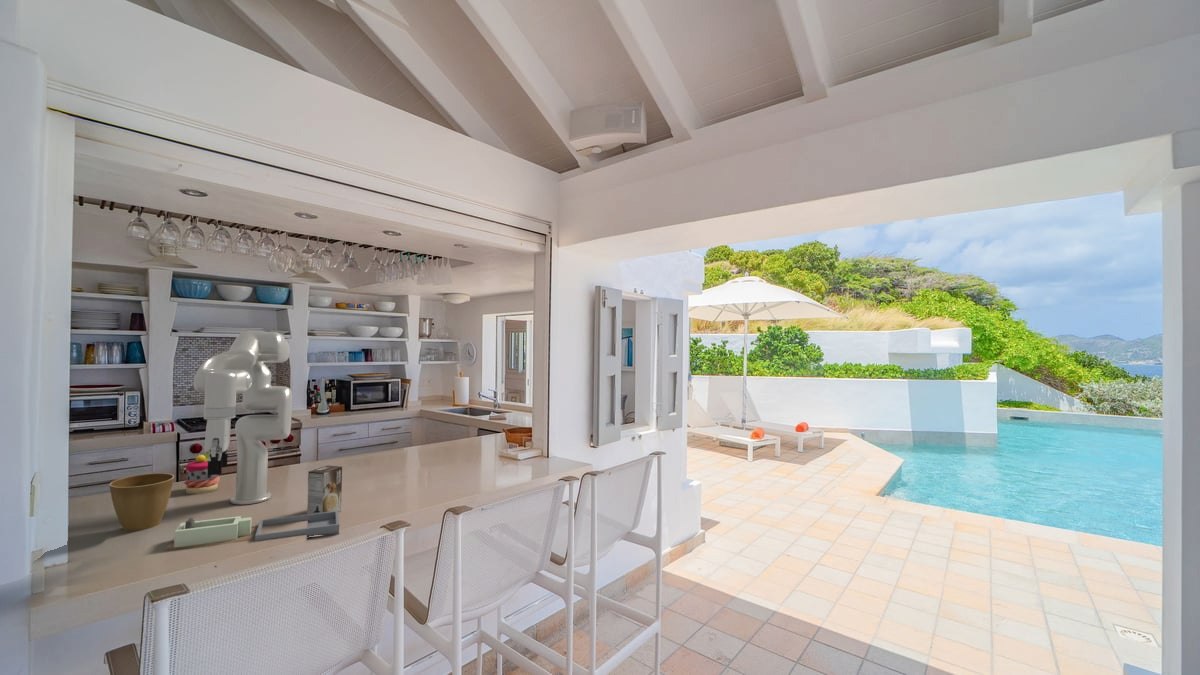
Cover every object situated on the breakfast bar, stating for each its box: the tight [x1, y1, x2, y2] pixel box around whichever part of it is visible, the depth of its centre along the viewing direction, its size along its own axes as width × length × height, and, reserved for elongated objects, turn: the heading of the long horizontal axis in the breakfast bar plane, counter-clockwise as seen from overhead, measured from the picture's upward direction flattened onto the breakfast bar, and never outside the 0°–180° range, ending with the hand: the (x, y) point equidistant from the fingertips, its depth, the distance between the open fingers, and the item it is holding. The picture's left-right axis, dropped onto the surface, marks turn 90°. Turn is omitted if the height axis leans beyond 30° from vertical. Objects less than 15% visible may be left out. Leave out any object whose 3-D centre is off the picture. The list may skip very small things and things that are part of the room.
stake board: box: [163, 516, 257, 553], centre depth 148 cm, size 12×20×8 cm, turn 119°
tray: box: [254, 511, 340, 542], centre depth 158 cm, size 14×22×3 cm, turn 119°
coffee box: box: [306, 465, 343, 514], centre depth 174 cm, size 9×6×16 cm
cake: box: [183, 451, 221, 495], centre depth 196 cm, size 10×11×15 cm
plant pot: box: [109, 472, 175, 532], centre depth 155 cm, size 15×15×16 cm
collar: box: [174, 515, 253, 548], centre depth 148 cm, size 7×17×4 cm, turn 119°
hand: (217, 470), depth 148 cm, fingers open, 9 cm apart
